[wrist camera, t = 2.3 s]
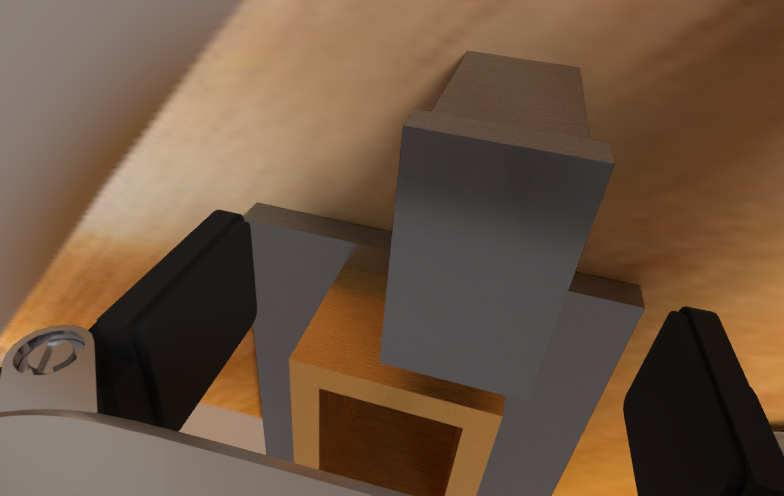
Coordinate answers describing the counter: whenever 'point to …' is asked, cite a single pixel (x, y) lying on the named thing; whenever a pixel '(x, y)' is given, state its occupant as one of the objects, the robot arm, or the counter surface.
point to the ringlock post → (411, 372)
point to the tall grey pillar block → (490, 222)
